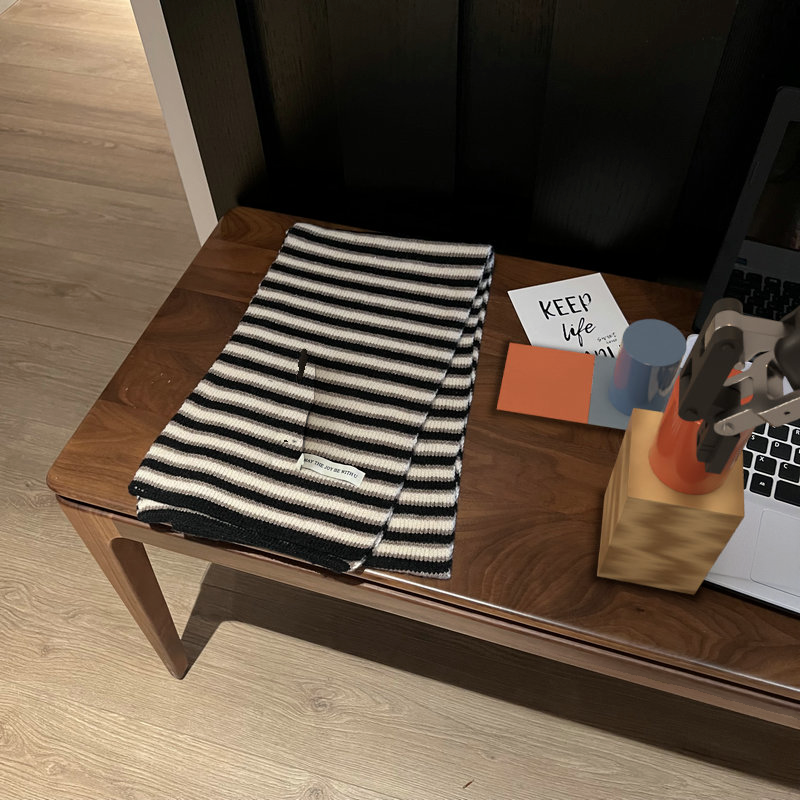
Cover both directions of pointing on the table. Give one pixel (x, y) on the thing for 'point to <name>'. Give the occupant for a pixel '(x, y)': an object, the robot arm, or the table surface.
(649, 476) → the stand
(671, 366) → the upturned slate cup
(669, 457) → the orange cylinder
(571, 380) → the board
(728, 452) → the robot arm
